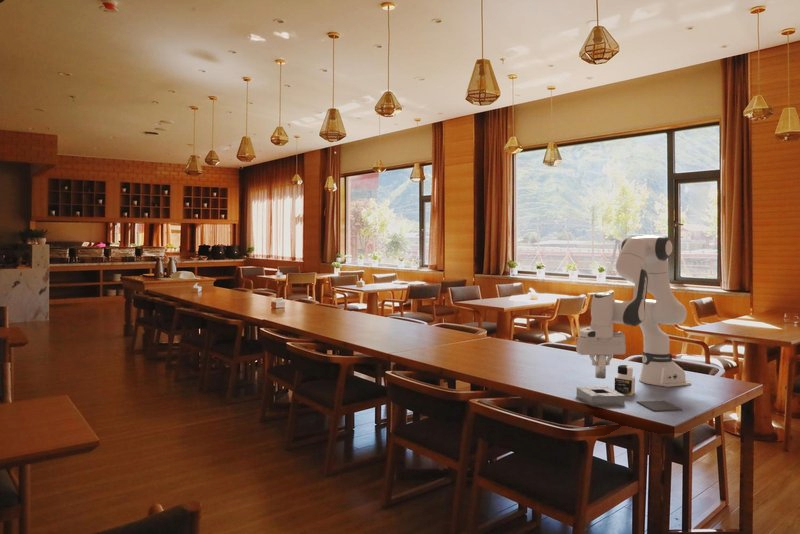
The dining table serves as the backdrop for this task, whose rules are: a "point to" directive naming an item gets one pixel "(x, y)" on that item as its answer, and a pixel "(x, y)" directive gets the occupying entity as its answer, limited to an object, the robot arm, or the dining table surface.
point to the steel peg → (600, 366)
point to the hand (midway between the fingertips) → (600, 365)
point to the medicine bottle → (625, 380)
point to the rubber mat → (658, 405)
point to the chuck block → (600, 396)
